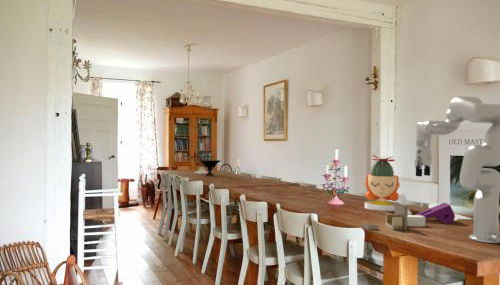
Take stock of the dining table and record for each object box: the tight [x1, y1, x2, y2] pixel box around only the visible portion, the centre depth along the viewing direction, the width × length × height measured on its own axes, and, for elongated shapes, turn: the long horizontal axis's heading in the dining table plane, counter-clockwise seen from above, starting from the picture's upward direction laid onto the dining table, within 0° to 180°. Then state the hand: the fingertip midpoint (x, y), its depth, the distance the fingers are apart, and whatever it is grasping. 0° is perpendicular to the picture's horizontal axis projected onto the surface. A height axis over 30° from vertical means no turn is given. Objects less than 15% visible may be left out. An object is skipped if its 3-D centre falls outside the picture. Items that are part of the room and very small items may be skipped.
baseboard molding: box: [423, 207, 473, 222], centre depth 234 cm, size 31×3×12 cm
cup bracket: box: [384, 201, 409, 231], centre depth 194 cm, size 11×7×12 cm, turn 4°
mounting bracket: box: [415, 202, 456, 224], centre depth 215 cm, size 10×9×19 cm
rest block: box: [361, 221, 379, 231], centre depth 194 cm, size 8×5×2 cm, turn 4°
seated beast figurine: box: [398, 193, 413, 215], centre depth 236 cm, size 10×9×12 cm
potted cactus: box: [363, 154, 401, 212], centre depth 257 cm, size 22×22×35 cm
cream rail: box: [407, 214, 426, 227], centre depth 202 cm, size 14×5×5 cm, turn 94°
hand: (422, 175), depth 212 cm, fingers open, 9 cm apart
